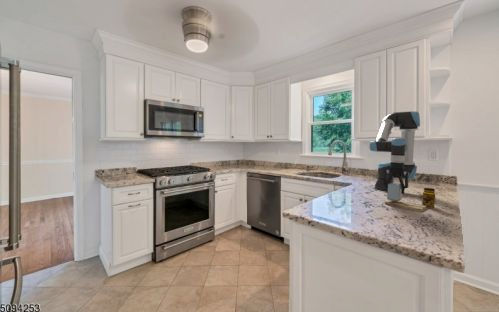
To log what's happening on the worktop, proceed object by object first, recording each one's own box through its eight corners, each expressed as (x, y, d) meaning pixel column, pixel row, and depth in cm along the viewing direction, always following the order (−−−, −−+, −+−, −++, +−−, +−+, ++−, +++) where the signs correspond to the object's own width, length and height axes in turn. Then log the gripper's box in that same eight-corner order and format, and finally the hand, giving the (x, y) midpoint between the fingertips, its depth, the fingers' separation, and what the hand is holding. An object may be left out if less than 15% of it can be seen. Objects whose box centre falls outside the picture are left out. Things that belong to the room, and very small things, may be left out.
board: (391, 201, 150) (391, 199, 150) (426, 208, 136) (426, 205, 136) (384, 204, 143) (385, 201, 143) (421, 212, 128) (421, 209, 128)
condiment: (423, 207, 137) (425, 188, 136) (417, 204, 145) (419, 186, 144) (437, 209, 135) (439, 189, 134) (431, 205, 143) (432, 187, 142)
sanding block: (391, 197, 148) (392, 182, 148) (401, 199, 144) (403, 183, 143) (387, 199, 143) (388, 183, 142) (397, 201, 139) (398, 185, 138)
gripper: (378, 160, 147) (376, 195, 148) (413, 163, 132) (410, 201, 134) (383, 160, 151) (380, 193, 153) (416, 163, 137) (413, 199, 138)
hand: (394, 197), depth 143 cm, fingers closed on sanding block, 6 cm apart
